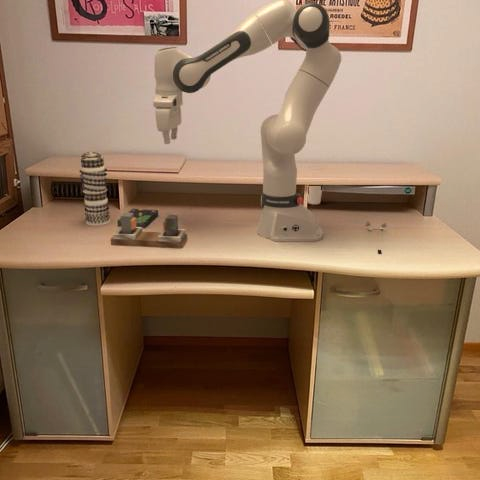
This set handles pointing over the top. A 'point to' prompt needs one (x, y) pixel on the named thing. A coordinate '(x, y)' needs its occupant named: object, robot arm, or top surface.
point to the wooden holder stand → (154, 236)
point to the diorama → (384, 225)
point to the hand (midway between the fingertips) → (170, 141)
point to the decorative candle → (94, 188)
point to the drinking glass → (314, 191)
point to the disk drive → (142, 217)
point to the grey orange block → (128, 223)
